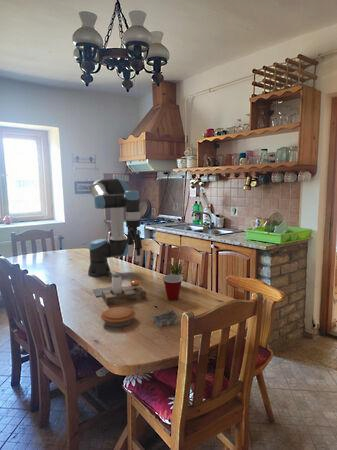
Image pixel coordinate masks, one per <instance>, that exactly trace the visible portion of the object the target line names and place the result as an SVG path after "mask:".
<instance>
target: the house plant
mask: <svg viewBox="0 0 337 450" xmlns="http://www.w3.org/2000/svg"><path fill="white" fill-rule="evenodd" d="M185 261H186V260H183V261H181V262H180V263H179V264H178V261H177V260H172V262H173V263H174V265H173V264H172V263H171V262H169V261H168V264H169V265H166V266H168V267H169V268H170V269H169V270H168V269H167V270H166V271H167V273H166V275H172V274H174V275H179V276H181V277H183V275H185V273H186V271H185V270H184V266H186V263H184V262H185ZM183 263H184V264H183ZM182 274H183V275H182ZM181 286H182V285H181ZM181 286H180V288H181Z"/></svg>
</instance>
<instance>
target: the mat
mask: <svg viewBox="0 0 337 450" xmlns="http://www.w3.org/2000/svg"><path fill="white" fill-rule="evenodd" d="M107 289H112V286H107V287H100V288H93V289H92V291H93V294H94V296H95V298H99V297H100V298H101V297H102V290H107Z"/></svg>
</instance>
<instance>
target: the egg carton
mask: <svg viewBox="0 0 337 450" xmlns="http://www.w3.org/2000/svg"><path fill="white" fill-rule="evenodd" d="M152 318H153V323H154V324H155V326H156V327H161V328H162V326H170V325H171V324H173V325H177V323H178V322H179V316H178V315H176V312H175V311H174V310H173V309H170V310H167V311H166V312H163V313H160V314H157V315H153V316H152Z"/></svg>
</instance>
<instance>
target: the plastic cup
mask: <svg viewBox="0 0 337 450" xmlns="http://www.w3.org/2000/svg"><path fill="white" fill-rule="evenodd" d="M171 274H172V273H171ZM171 274H166V275H164V276H162V280H163V283H164V288H165V289H164V290H165V292H166V298H167V300H168V301H172V302H175V300H176V301H178V300H179V298H180V297H179V296H180V293H181V287H180V286H182V282H183V279H184V277H183V276H182V275H181V276H182V277H181V276H179V275H174V274H172V275H171Z"/></svg>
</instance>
